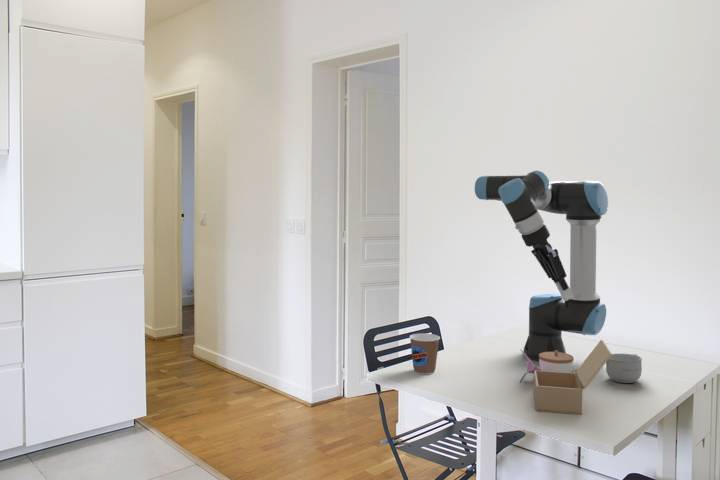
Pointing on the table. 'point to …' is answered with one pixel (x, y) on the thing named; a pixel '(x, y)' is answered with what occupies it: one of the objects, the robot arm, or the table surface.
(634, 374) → the teacup
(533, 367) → the lily
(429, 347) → the coffee cup
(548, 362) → the lidded jar
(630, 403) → the table surface
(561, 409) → the mailer box
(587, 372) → the lid
